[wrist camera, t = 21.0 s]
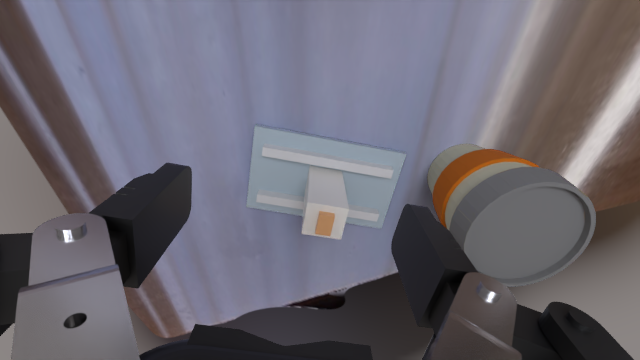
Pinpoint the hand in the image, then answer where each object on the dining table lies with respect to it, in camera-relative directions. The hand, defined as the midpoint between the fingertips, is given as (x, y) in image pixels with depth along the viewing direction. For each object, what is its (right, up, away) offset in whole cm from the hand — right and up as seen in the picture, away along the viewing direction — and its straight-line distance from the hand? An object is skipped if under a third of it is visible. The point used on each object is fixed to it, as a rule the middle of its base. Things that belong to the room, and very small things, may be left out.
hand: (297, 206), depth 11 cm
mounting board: (+1, +1, +30) cm, 31 cm away
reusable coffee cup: (+20, +2, +31) cm, 37 cm away
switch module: (+1, +1, +30) cm, 30 cm away
